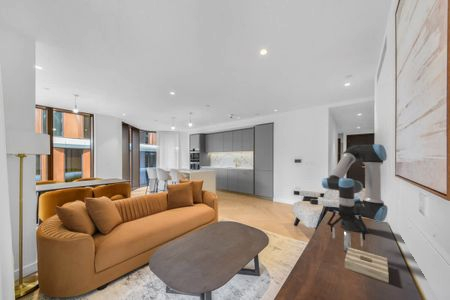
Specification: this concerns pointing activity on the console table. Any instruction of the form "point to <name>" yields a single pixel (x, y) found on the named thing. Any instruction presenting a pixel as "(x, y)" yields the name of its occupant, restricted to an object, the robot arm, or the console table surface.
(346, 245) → the pin
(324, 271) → the console table surface
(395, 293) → the console table surface
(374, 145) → the robot arm
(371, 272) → the bore block
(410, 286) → the console table surface
